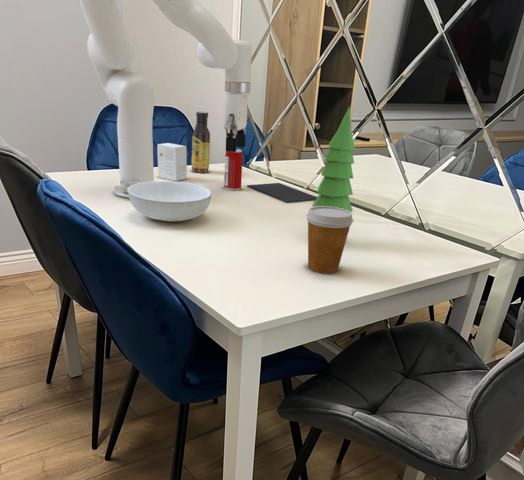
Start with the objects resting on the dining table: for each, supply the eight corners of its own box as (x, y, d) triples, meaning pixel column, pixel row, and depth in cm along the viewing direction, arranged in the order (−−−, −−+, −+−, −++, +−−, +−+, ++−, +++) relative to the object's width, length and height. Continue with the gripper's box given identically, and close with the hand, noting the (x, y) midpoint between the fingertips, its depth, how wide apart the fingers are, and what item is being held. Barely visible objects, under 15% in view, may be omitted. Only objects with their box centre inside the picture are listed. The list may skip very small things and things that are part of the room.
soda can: (244, 189, 172) (246, 150, 166) (231, 191, 169) (233, 151, 163) (233, 185, 175) (234, 147, 170) (220, 187, 172) (221, 148, 166)
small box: (187, 179, 179) (187, 146, 174) (176, 181, 175) (176, 147, 170) (168, 175, 183) (168, 142, 177) (157, 177, 178) (156, 143, 173)
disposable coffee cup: (341, 261, 117) (349, 207, 111) (349, 277, 109) (358, 219, 103) (298, 259, 117) (304, 204, 111) (302, 275, 108) (309, 216, 102)
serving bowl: (114, 221, 130) (112, 193, 127) (149, 203, 148) (148, 177, 145) (194, 233, 127) (195, 204, 124) (221, 213, 145) (222, 187, 142)
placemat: (320, 199, 167) (320, 198, 167) (287, 202, 161) (287, 201, 160) (278, 184, 183) (279, 182, 183) (247, 186, 176) (247, 185, 176)
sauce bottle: (189, 169, 193) (189, 110, 183) (205, 169, 195) (206, 110, 186) (195, 173, 188) (195, 112, 178) (211, 173, 190) (213, 113, 181)
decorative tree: (349, 238, 133) (370, 107, 119) (344, 249, 125) (365, 109, 111) (311, 232, 135) (327, 102, 121) (303, 242, 127) (319, 105, 113)
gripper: (234, 86, 166) (232, 144, 175) (216, 88, 151) (215, 152, 160) (257, 87, 165) (254, 146, 173) (241, 90, 150) (239, 154, 158)
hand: (235, 149), depth 167 cm, fingers open, 9 cm apart
